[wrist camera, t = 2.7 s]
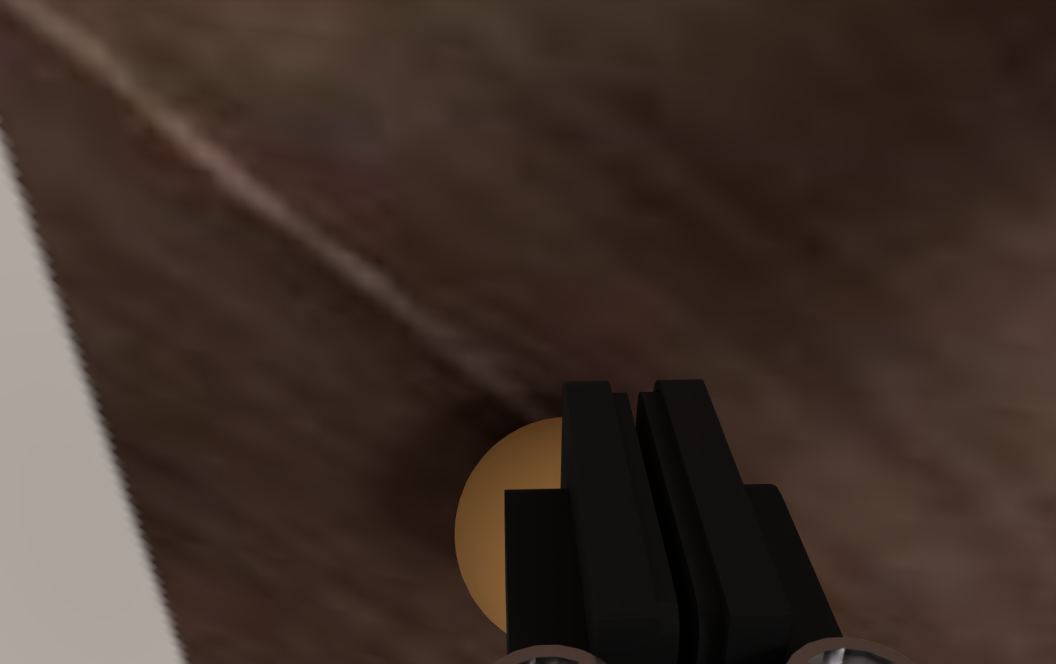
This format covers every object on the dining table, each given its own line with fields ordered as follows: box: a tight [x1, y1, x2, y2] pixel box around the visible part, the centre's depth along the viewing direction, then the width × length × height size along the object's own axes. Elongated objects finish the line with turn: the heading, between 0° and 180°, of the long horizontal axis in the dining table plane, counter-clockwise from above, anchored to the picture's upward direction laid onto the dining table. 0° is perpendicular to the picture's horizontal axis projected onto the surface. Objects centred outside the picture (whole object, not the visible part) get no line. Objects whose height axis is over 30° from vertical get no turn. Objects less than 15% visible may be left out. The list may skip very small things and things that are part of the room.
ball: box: [455, 417, 562, 634], centre depth 26 cm, size 6×6×6 cm
